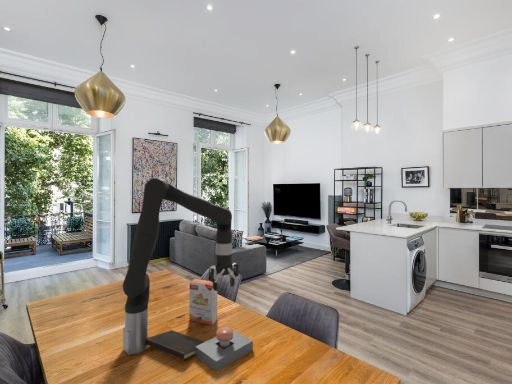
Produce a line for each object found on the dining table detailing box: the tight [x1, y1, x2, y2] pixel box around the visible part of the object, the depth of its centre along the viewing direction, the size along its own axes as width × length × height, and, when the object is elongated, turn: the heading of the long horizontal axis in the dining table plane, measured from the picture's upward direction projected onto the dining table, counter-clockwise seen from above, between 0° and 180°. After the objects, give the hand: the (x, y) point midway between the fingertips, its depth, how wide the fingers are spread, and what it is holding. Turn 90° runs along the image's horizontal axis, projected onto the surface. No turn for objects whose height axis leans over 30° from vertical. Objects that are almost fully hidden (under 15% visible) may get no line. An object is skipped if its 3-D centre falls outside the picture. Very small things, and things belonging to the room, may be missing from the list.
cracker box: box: [188, 278, 218, 326], centre depth 144 cm, size 14×6×21 cm, turn 69°
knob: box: [216, 326, 234, 349], centre depth 117 cm, size 7×7×6 cm
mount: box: [194, 329, 254, 373], centre depth 117 cm, size 20×14×4 cm
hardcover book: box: [146, 329, 205, 361], centre depth 120 cm, size 16×23×2 cm
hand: (223, 288), depth 123 cm, fingers open, 8 cm apart
